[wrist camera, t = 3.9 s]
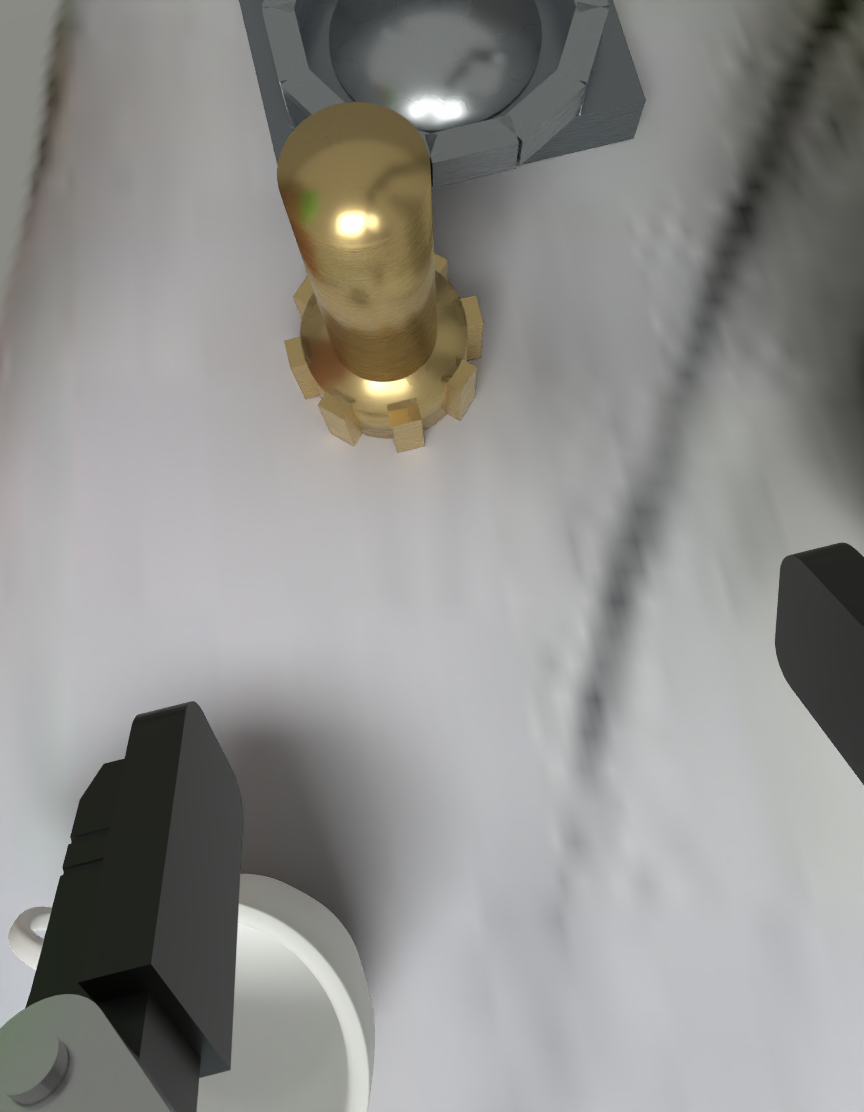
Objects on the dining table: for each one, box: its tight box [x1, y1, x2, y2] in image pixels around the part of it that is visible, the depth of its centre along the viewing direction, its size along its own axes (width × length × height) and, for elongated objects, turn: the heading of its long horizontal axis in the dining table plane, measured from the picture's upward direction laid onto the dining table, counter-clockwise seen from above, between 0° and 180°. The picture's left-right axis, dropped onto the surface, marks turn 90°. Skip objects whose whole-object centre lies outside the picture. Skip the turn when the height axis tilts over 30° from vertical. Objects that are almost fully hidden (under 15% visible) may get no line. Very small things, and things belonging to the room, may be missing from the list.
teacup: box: [8, 874, 375, 1112], centre depth 21 cm, size 10×8×5 cm
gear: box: [277, 102, 483, 452], centre depth 22 cm, size 6×6×10 cm
